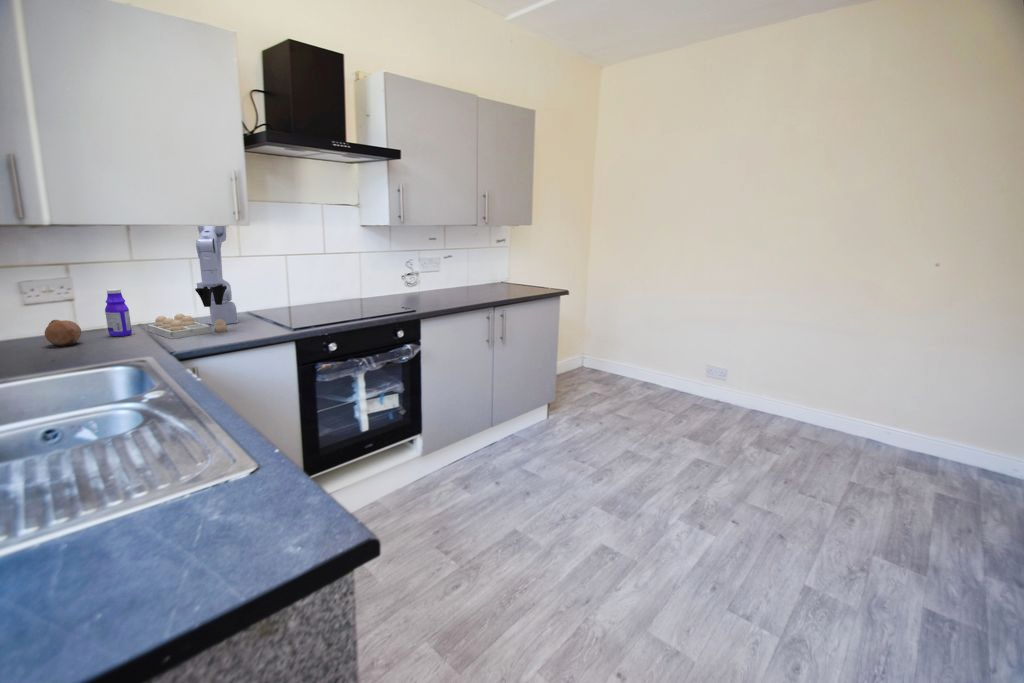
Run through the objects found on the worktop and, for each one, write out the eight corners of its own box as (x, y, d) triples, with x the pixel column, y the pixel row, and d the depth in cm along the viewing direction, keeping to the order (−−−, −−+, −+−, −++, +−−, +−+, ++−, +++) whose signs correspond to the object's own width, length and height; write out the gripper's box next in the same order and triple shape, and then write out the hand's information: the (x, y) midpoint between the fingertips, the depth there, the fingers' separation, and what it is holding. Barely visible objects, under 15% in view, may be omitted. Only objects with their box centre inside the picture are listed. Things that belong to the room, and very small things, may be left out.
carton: (187, 325, 208) (185, 311, 206) (211, 332, 196) (209, 317, 195) (148, 331, 197) (145, 316, 195) (171, 339, 185) (169, 323, 184)
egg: (223, 330, 202) (222, 317, 201) (228, 331, 199) (227, 319, 198) (213, 331, 198) (211, 319, 197) (218, 333, 196) (216, 320, 195)
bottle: (136, 334, 192) (129, 288, 188) (123, 337, 186) (115, 290, 182) (118, 333, 192) (111, 288, 188) (105, 336, 187) (97, 290, 183)
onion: (53, 354, 173) (33, 329, 170) (82, 341, 181) (63, 317, 178) (62, 348, 168) (41, 322, 165) (92, 335, 175) (72, 310, 173)
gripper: (208, 271, 185) (212, 307, 188) (230, 269, 199) (233, 303, 202) (189, 271, 185) (193, 307, 188) (212, 269, 199) (216, 303, 202)
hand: (213, 305), depth 195 cm, fingers open, 7 cm apart
